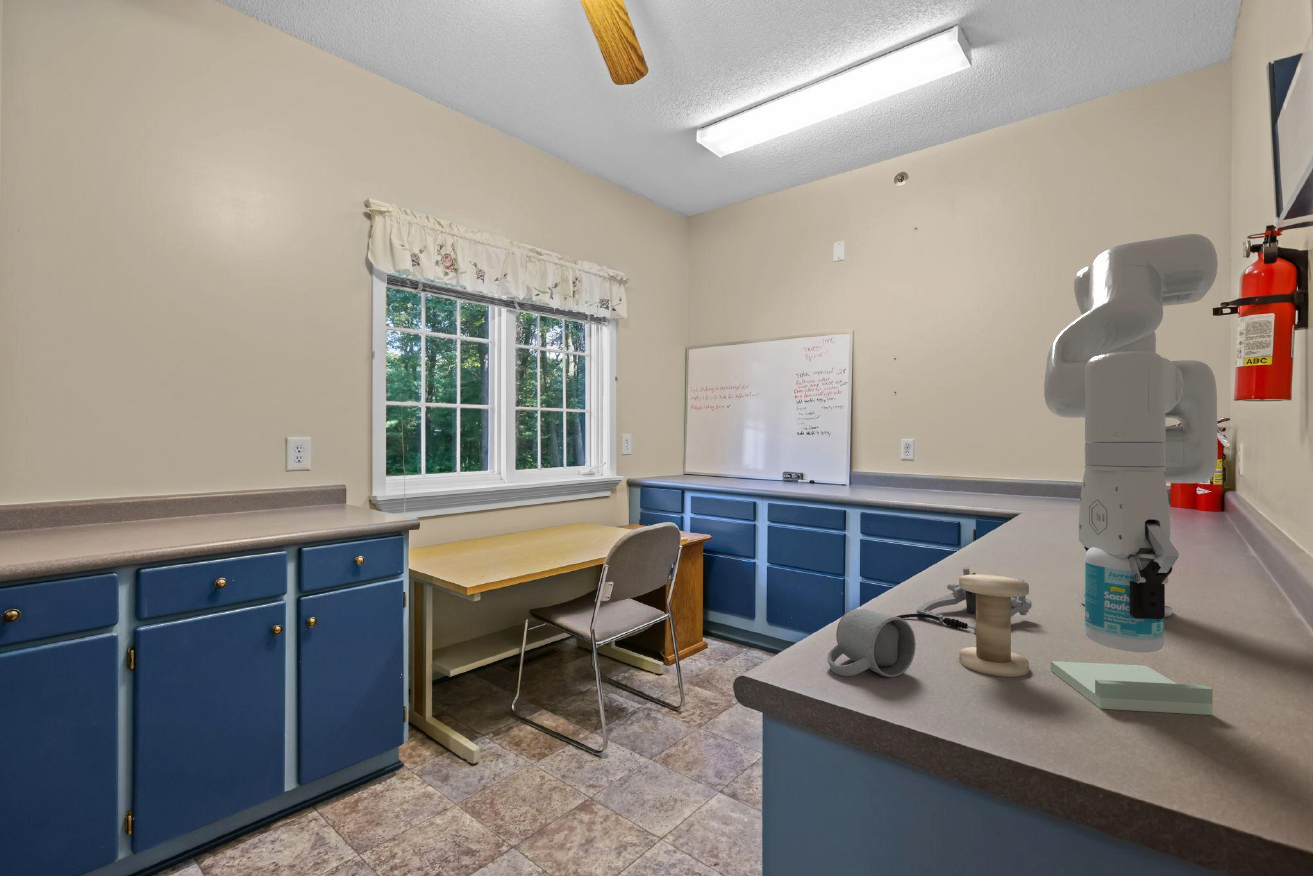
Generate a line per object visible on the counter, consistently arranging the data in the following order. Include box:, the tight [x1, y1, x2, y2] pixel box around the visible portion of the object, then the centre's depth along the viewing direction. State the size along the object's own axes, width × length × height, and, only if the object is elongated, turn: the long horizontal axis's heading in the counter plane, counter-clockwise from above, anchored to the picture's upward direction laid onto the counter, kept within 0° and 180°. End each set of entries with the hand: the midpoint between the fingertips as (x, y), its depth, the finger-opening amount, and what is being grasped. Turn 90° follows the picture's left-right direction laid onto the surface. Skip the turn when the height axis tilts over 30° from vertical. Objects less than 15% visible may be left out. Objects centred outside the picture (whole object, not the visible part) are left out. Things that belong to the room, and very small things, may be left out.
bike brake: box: [895, 567, 1033, 635], centre depth 98 cm, size 14×7×20 cm
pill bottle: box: [1084, 547, 1165, 653], centre depth 71 cm, size 8×7×14 cm
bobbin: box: [958, 573, 1030, 678], centre depth 79 cm, size 8×8×11 cm
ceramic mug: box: [827, 608, 917, 678], centre depth 78 cm, size 10×8×7 cm
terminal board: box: [1050, 660, 1214, 716], centre depth 71 cm, size 11×11×3 cm
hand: (1124, 606), depth 71 cm, fingers closed on pill bottle, 7 cm apart
